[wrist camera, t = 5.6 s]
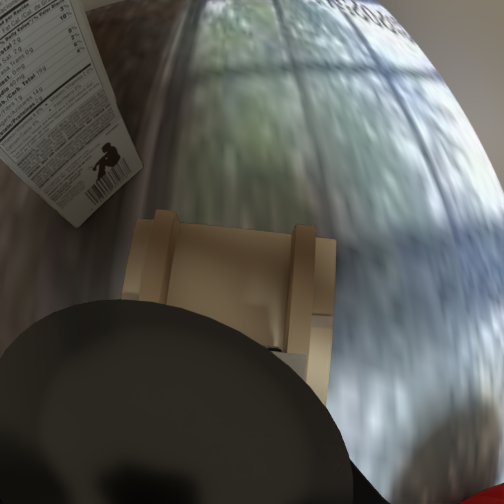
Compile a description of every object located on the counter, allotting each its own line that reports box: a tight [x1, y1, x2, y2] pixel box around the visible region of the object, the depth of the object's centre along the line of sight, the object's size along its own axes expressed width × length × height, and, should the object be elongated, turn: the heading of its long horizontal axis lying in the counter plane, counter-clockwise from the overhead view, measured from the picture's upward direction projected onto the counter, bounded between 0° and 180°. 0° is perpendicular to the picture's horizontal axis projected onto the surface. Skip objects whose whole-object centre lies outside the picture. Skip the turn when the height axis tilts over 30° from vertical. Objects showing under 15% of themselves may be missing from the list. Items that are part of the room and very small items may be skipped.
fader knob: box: [0, 299, 353, 504], centre depth 8 cm, size 4×5×13 cm
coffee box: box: [0, 0, 143, 228], centre depth 12 cm, size 9×6×16 cm
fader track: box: [121, 209, 336, 407], centre depth 14 cm, size 19×11×3 cm, turn 174°
